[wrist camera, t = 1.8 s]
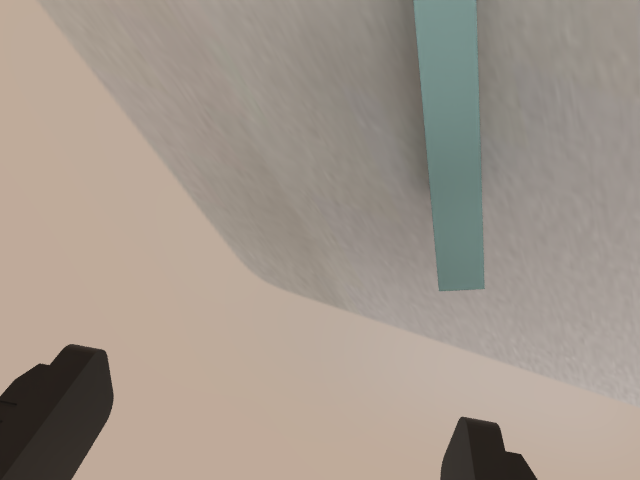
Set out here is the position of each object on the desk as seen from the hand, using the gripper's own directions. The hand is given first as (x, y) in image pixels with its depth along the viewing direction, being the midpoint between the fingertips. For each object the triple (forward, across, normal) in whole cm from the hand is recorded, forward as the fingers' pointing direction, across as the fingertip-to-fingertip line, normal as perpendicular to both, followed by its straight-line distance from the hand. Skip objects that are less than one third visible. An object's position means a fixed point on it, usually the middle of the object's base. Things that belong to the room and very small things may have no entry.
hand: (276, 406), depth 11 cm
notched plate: (+21, -5, -3) cm, 22 cm away
